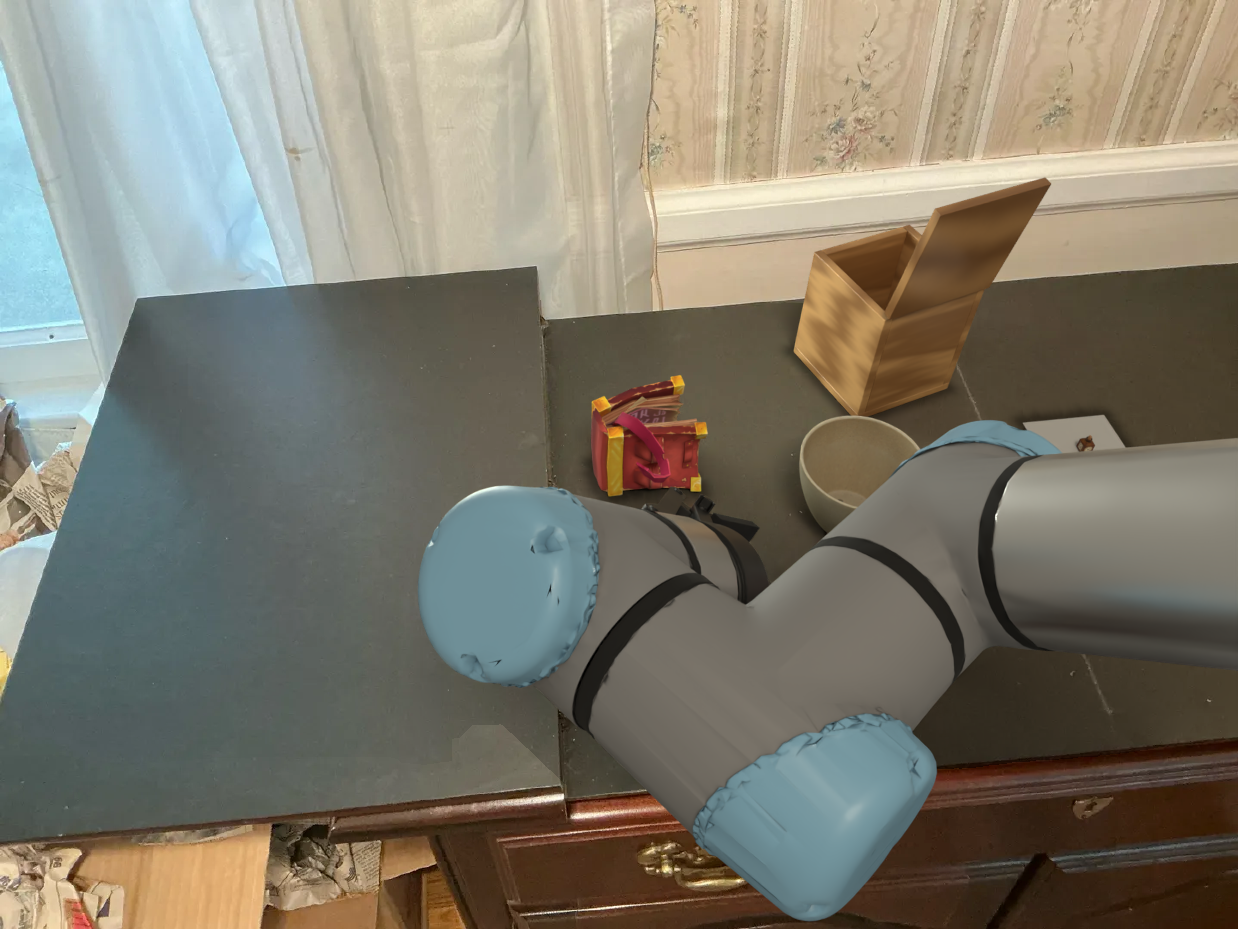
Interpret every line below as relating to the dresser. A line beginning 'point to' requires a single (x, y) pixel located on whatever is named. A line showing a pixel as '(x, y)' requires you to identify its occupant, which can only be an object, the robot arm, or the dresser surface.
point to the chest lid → (965, 247)
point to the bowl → (848, 464)
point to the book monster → (645, 440)
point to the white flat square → (1078, 433)
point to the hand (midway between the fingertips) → (817, 600)
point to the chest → (877, 327)
